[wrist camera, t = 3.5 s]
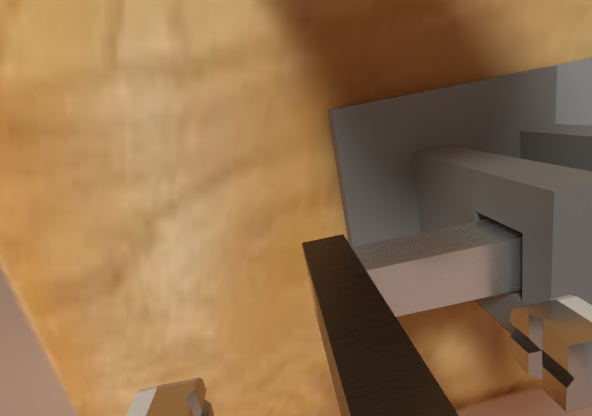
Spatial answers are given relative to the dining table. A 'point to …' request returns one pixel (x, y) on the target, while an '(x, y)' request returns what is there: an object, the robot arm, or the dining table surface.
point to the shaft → (401, 307)
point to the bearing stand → (475, 176)
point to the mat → (574, 93)
